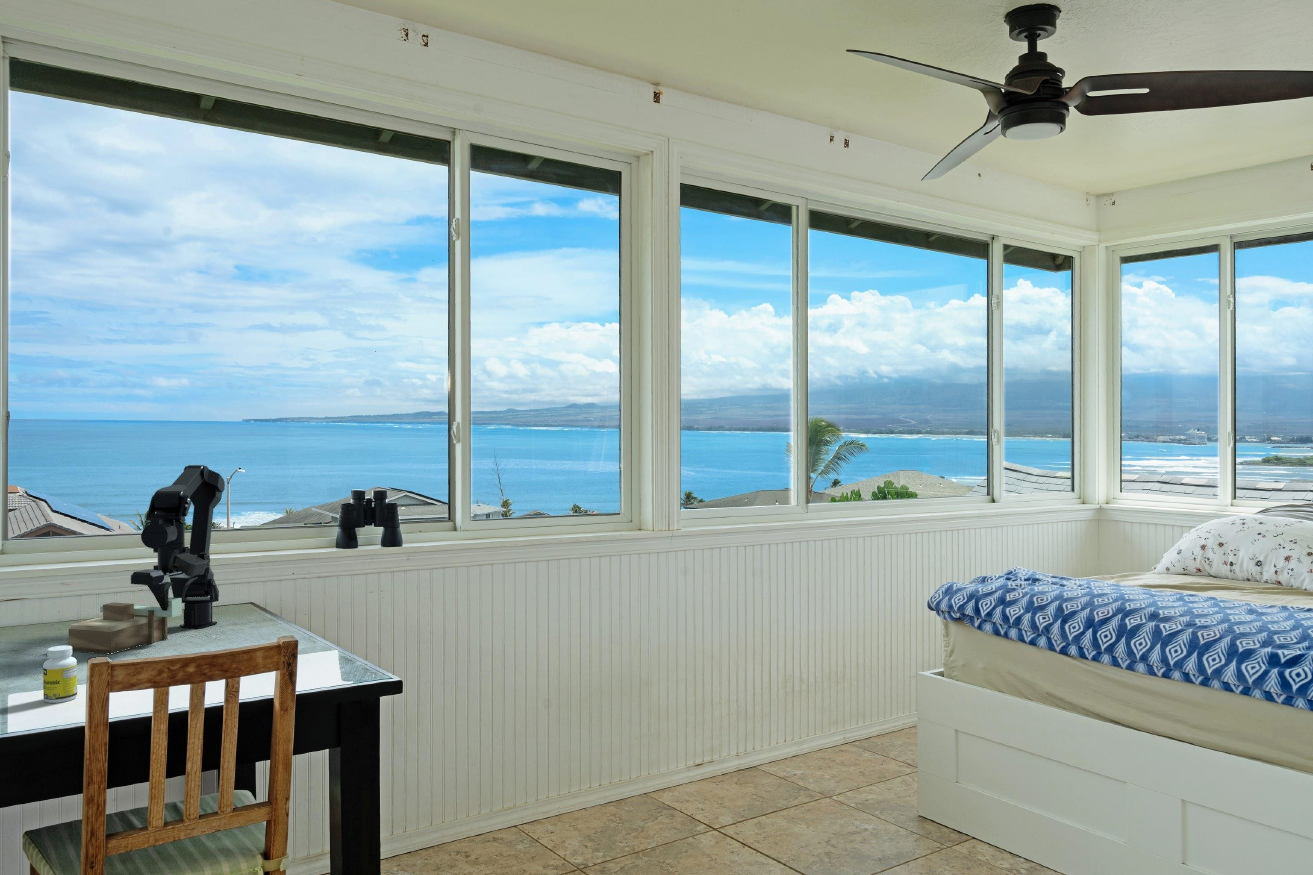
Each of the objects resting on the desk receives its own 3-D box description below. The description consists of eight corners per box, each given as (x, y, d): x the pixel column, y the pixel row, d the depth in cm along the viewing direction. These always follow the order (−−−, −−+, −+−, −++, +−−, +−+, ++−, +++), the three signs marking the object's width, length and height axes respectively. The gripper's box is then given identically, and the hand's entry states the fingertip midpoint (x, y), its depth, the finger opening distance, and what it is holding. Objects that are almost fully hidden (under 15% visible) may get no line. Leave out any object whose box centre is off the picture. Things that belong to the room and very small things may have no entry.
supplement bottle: (36, 701, 176) (35, 649, 176) (63, 693, 181) (63, 643, 181) (57, 704, 174) (56, 652, 174) (84, 696, 179) (83, 645, 179)
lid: (125, 618, 230) (125, 596, 230) (164, 621, 227) (164, 599, 227) (70, 632, 215) (70, 609, 215) (110, 635, 212) (110, 611, 212)
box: (122, 635, 231) (122, 603, 231) (169, 638, 227) (169, 606, 227) (65, 650, 215) (64, 616, 215) (114, 654, 212) (114, 619, 211)
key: (110, 609, 230) (110, 593, 230) (181, 614, 224) (181, 597, 224) (100, 612, 227) (100, 595, 227) (172, 617, 221) (171, 600, 221)
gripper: (168, 549, 212) (169, 618, 212) (227, 539, 230) (228, 603, 230) (128, 547, 215) (129, 616, 215) (189, 537, 233) (190, 600, 233)
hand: (171, 608), depth 223 cm, fingers open, 4 cm apart
